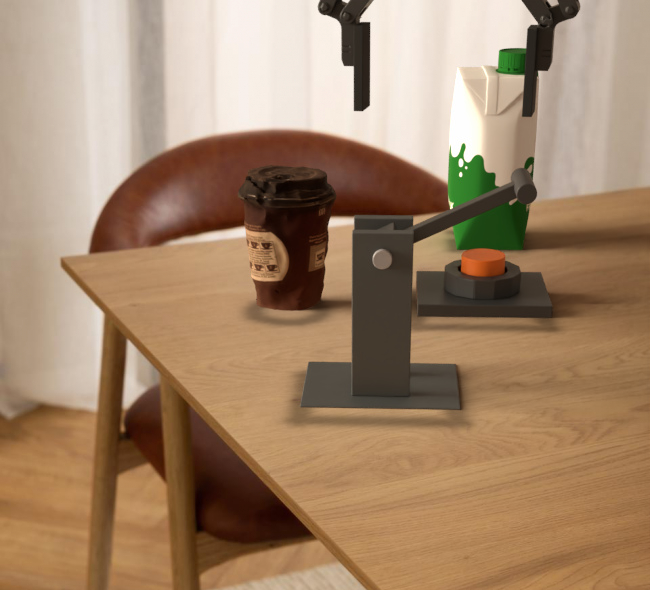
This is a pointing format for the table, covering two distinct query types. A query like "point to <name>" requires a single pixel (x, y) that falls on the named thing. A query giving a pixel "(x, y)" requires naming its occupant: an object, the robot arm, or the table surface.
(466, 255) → the button
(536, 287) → the control block
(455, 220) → the switch lever
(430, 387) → the upright post stand
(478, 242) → the milk carton
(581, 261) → the table surface
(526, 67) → the robot arm
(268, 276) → the coffee cup
